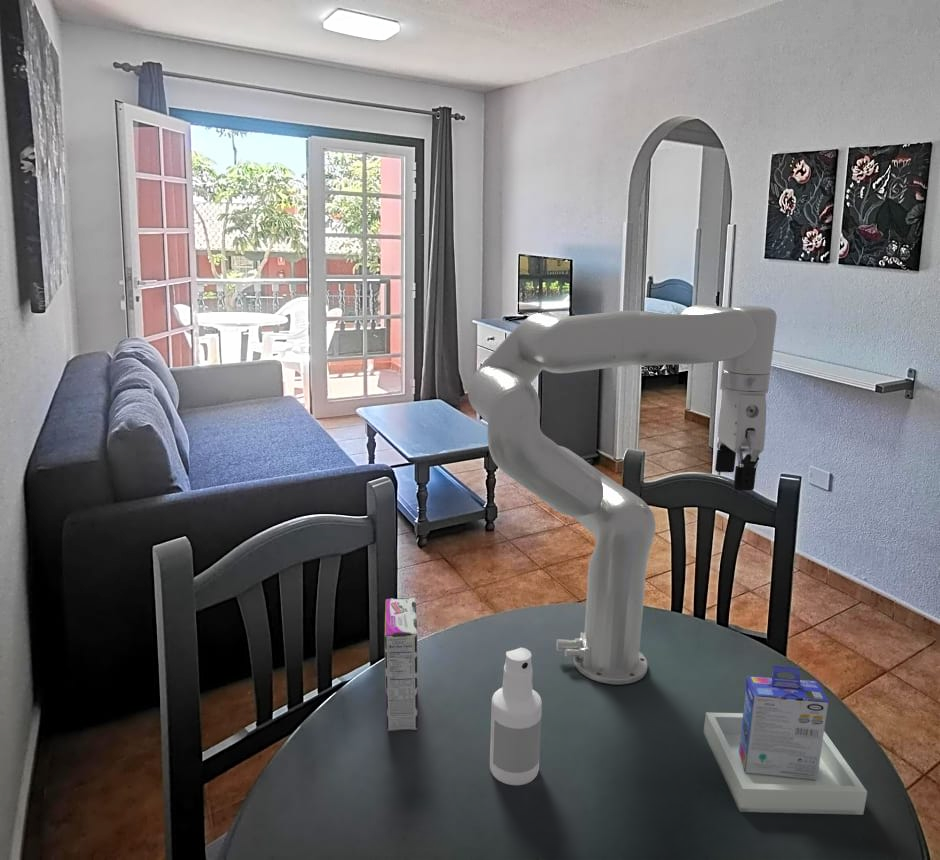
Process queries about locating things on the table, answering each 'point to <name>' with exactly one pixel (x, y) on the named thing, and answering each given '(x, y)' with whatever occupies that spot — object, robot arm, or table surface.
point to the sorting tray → (783, 777)
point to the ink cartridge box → (783, 725)
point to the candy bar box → (401, 664)
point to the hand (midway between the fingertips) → (733, 480)
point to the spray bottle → (516, 723)
